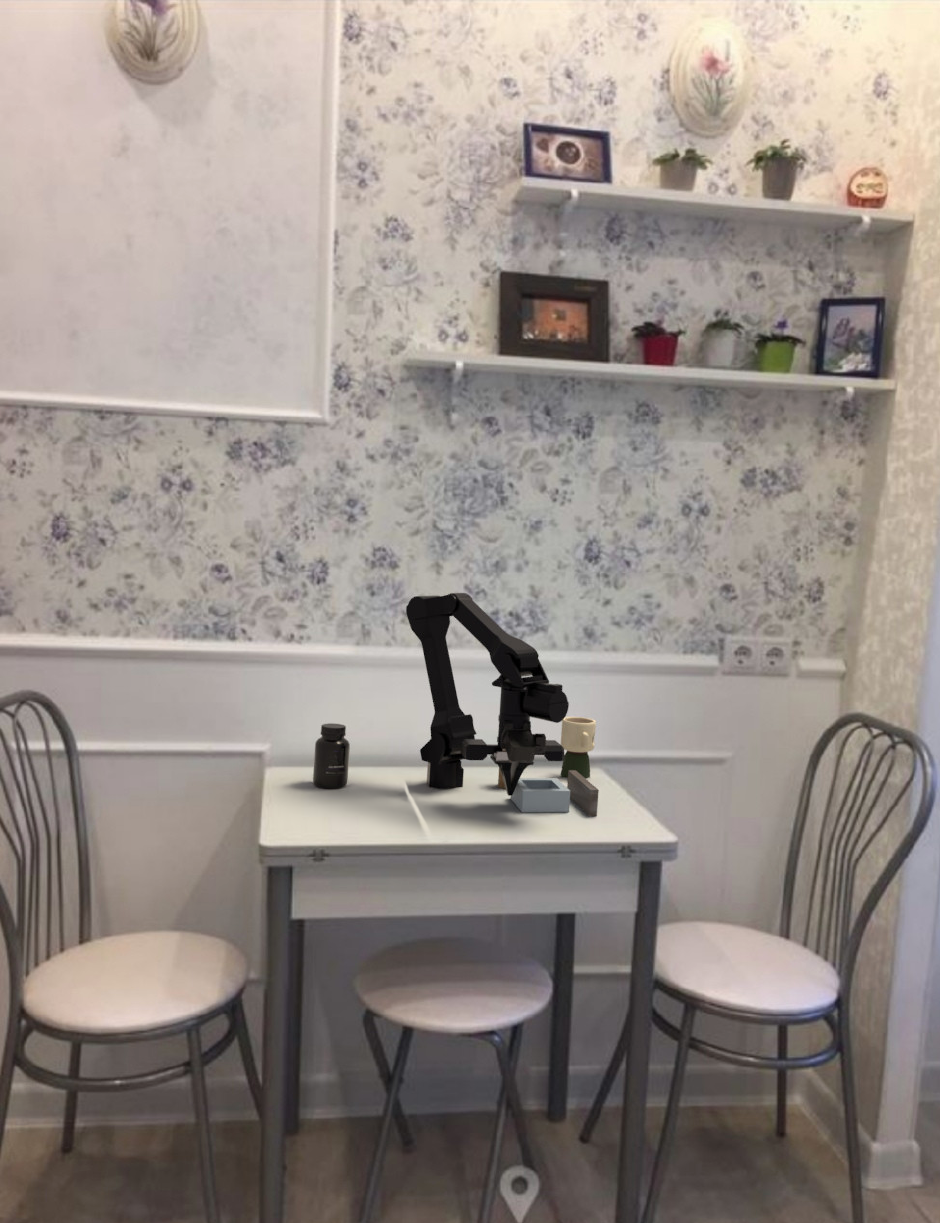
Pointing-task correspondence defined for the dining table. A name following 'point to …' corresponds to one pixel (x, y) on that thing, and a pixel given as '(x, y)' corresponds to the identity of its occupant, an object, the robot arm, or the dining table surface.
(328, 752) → the supplement bottle
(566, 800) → the sliding block
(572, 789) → the base board
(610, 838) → the dining table surface
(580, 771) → the character mug
